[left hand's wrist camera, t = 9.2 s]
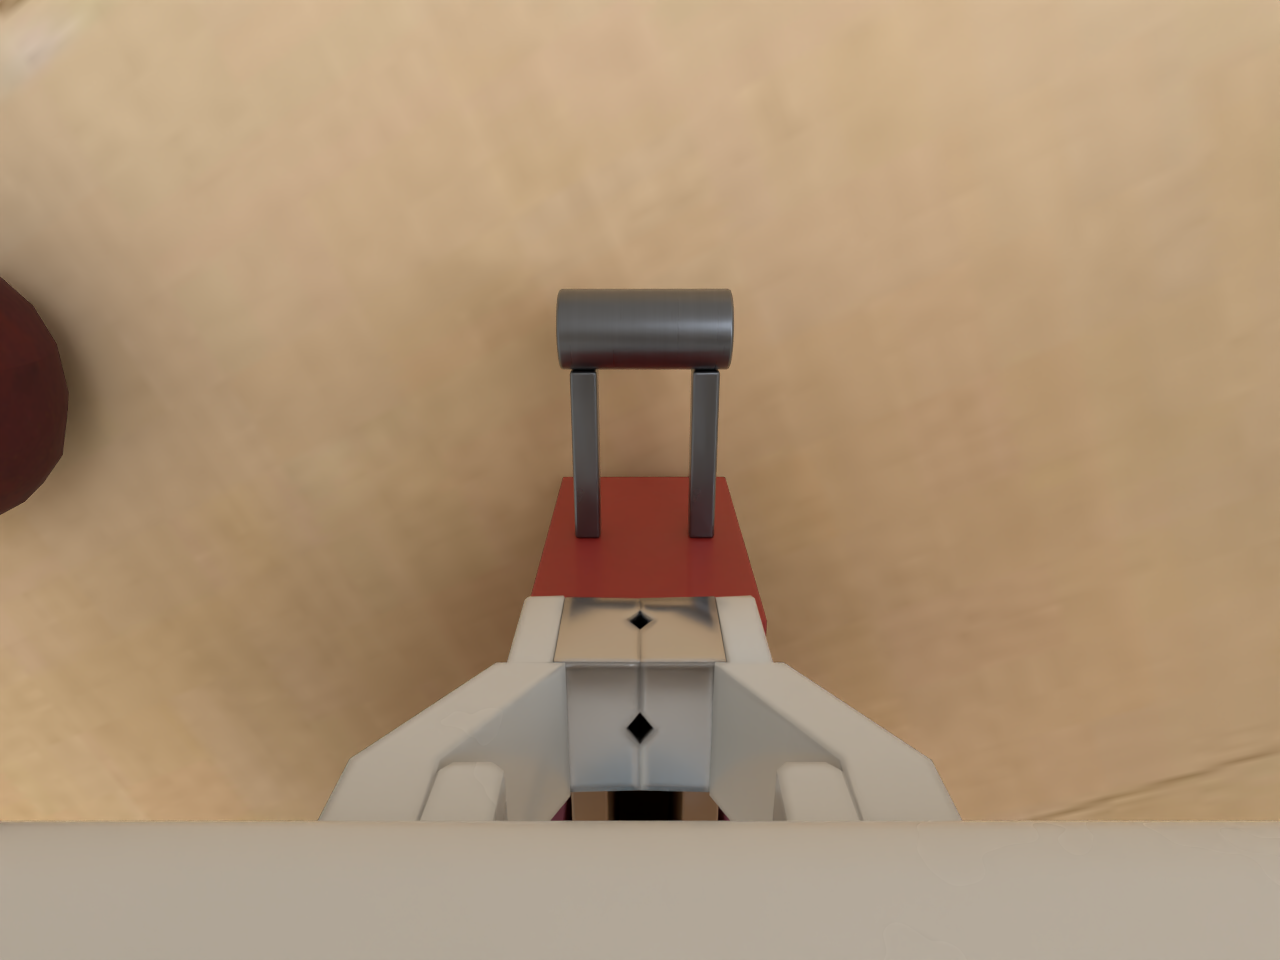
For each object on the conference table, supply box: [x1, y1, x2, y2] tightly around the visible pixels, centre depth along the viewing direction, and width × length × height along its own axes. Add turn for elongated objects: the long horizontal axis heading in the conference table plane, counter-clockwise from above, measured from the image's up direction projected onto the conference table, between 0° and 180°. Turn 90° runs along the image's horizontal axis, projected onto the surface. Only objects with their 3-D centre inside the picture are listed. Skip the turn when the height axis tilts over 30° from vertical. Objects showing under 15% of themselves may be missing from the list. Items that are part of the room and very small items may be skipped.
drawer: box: [531, 289, 767, 821], centre depth 21 cm, size 25×5×8 cm, turn 0°
